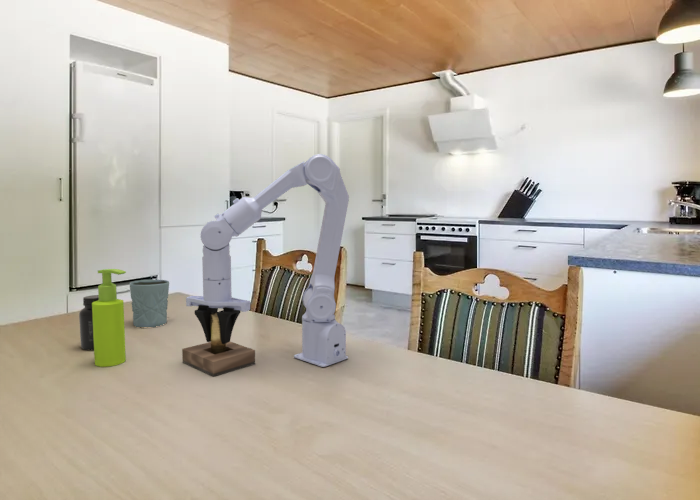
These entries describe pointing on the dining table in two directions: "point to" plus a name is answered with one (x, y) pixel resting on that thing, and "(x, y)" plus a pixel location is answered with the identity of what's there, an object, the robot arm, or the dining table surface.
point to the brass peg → (216, 335)
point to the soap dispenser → (108, 323)
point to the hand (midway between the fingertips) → (218, 341)
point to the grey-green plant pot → (149, 302)
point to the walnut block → (218, 358)
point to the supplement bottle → (87, 323)
